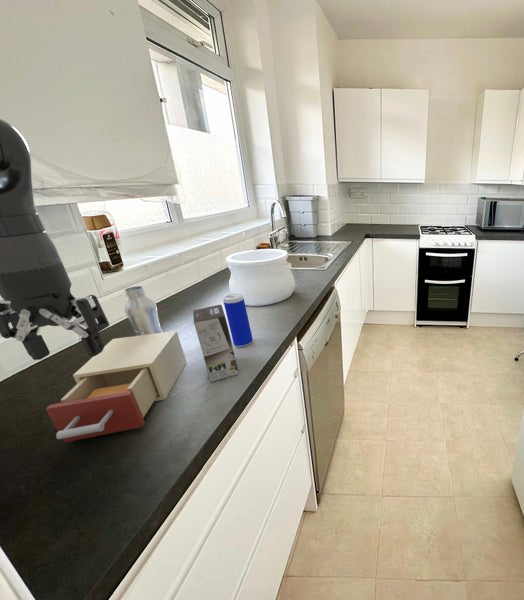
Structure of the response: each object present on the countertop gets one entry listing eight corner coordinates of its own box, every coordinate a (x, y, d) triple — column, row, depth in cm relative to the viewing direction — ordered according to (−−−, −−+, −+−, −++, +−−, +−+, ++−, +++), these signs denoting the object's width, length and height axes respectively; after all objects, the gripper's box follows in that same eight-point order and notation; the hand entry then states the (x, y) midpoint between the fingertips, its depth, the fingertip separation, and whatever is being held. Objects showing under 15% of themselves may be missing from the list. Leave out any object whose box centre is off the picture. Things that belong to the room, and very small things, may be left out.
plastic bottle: (140, 356, 87) (115, 288, 79) (170, 347, 91) (148, 282, 83) (143, 365, 82) (117, 295, 75) (174, 356, 86) (151, 288, 79)
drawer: (131, 446, 57) (116, 412, 54) (45, 464, 53) (23, 429, 50) (169, 383, 74) (159, 354, 71) (105, 393, 70) (92, 364, 67)
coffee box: (239, 374, 78) (225, 316, 72) (210, 382, 75) (192, 322, 69) (235, 357, 85) (222, 303, 79) (208, 364, 82) (192, 309, 76)
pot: (308, 288, 137) (303, 248, 130) (278, 310, 115) (270, 264, 108) (254, 285, 141) (247, 247, 135) (216, 306, 119) (204, 261, 112)
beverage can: (256, 340, 94) (247, 293, 89) (245, 348, 90) (234, 300, 84) (242, 338, 95) (231, 292, 90) (230, 346, 91) (218, 299, 85)
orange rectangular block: (88, 423, 60) (79, 405, 59) (102, 406, 65) (94, 389, 63) (131, 415, 62) (124, 397, 61) (142, 399, 67) (135, 382, 65)
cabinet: (165, 399, 70) (151, 363, 66) (90, 413, 66) (72, 375, 62) (186, 362, 84) (176, 330, 80) (126, 371, 80) (112, 338, 76)
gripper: (96, 256, 51) (129, 342, 57) (0, 259, 50) (44, 347, 56) (54, 268, 44) (97, 365, 50) (-59, 272, 43) (-1, 371, 49)
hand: (69, 355), depth 53 cm, fingers open, 8 cm apart
